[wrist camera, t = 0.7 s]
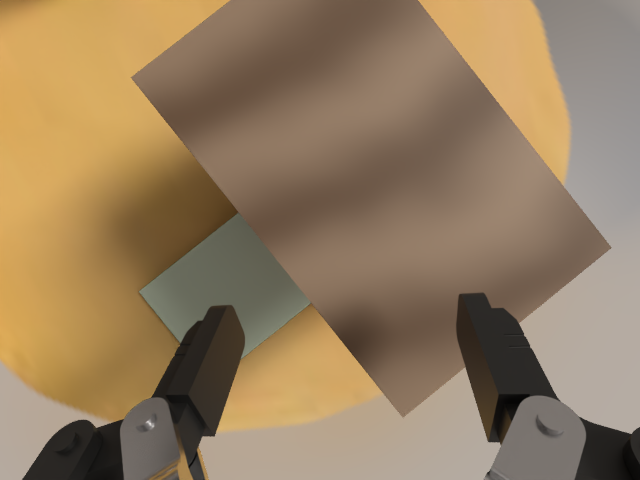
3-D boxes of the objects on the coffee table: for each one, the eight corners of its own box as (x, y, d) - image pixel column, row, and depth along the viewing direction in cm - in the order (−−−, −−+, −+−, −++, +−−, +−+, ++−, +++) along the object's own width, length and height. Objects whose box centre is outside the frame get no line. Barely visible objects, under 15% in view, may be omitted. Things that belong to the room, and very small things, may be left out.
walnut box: (230, 167, 33) (130, 77, 15) (327, 90, 33) (347, -90, 15) (353, 320, 33) (402, 417, 15) (449, 243, 33) (611, 247, 15)
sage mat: (141, 290, 32) (138, 291, 32) (240, 212, 33) (239, 212, 32) (213, 379, 33) (212, 382, 32) (311, 301, 33) (311, 302, 32)
